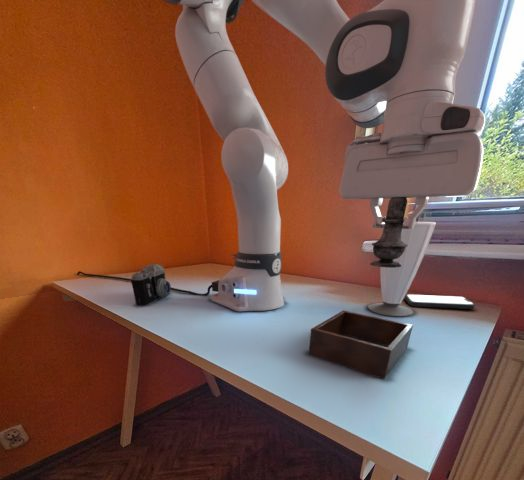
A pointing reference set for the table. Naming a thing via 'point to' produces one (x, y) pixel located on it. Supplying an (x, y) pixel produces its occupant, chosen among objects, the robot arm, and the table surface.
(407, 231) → the cup
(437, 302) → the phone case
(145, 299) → the camera
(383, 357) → the crate
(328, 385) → the table surface
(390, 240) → the salt shaker
